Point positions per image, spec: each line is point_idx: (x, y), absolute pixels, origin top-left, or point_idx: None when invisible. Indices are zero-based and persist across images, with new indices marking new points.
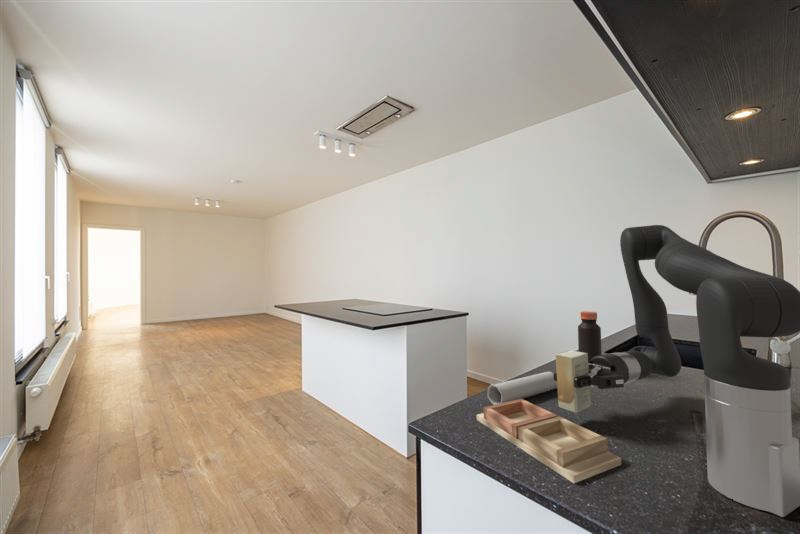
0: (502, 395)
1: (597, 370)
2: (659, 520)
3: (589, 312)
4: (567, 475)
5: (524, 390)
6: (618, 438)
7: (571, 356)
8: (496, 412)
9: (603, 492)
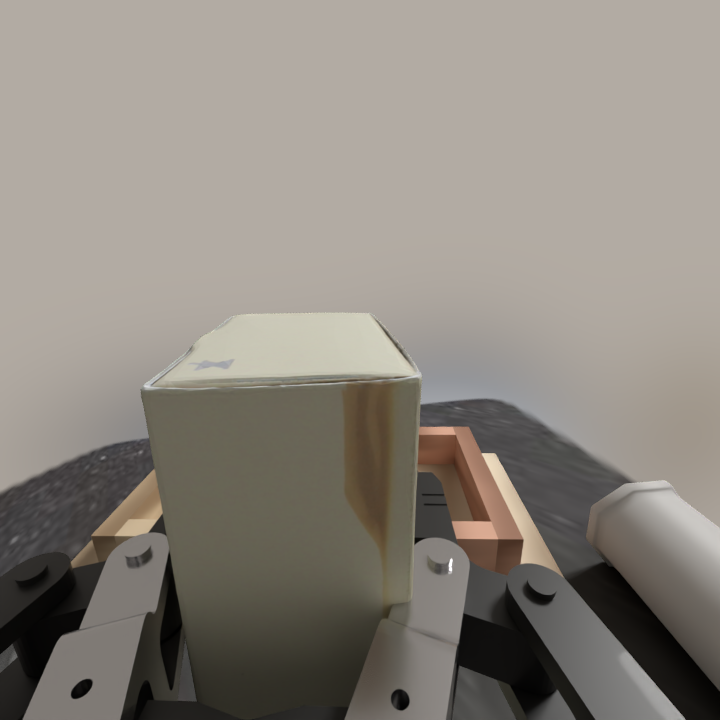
0: (591, 515)
1: (46, 696)
2: (12, 494)
3: None
4: None
5: None
6: None
7: (250, 317)
8: (423, 432)
9: (116, 483)
